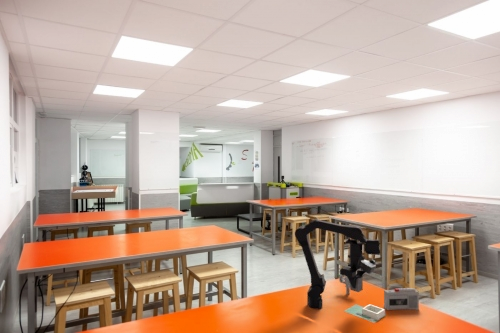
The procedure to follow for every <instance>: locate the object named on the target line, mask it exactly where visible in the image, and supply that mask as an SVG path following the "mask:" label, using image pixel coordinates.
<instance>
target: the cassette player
mask: <svg viewBox="0 0 500 333" xmlns="http://www.w3.org/2000/svg"><path fill="white" fill-rule="evenodd" d="M419 297H420V292H419V291H418V290H417V289H416V288H414V287H406V288H394V289H386V290H385V289H384V290H383V307H384V308H383V309H385V310H387V311H389V310H391V311H393V310H394V311H395V310H416V311H419V310H420V303H419V301H420V298H419Z"/></svg>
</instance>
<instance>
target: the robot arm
mask: <svg viewBox="0 0 500 333" xmlns="http://www.w3.org/2000/svg"><path fill="white" fill-rule="evenodd" d="M316 229H317V230H318V229H319V230H323V231H327V232H333V233H336V234H341V235H344V236H345V237H346V238H347V239H346V240H345V244H348V245H349V254H347V258H349V263H348V264H347V266H344V267H341V268H340V269H339V275H343V277H345V276H347V277H348V279H349V281H350V283H351V285H352V287H353V288H355V287H356V278H357V277H358V276H361V277H363V278H364V275H365V274H369V275H370V274H372V273H374V272H375V269H376V268H377V264H376V263H377V262H376V260H374V259H371V260H367V259H366V256H365V255H363V251H364V253H366V255H373V256H380V255H381V247H380V240H379V239H370V238H369V239H367V236H365V235H364V233H363V229H362V227H361V226H360V225H355V224H340V223H335V222H331V221H325V220H322V219H321V220H320V219H318V218H314V219H313V220H312V221H310V222H309V223H307V224H305V225H300V226H299V227H297V229H296V230H295V231H294V236H295V238H296V241H297V243H299V245H300V246H301V249H302V252H303V255H304V259H305V262H306V264H307V269H308V270H309V274H310V284H311V285H310V286H309V288H308V290H307V294H306V295H307V297H306V299H307V301H306V302H307V306H308V307H309V308H311V309H313V310H314V309H316V310H321V309H323V297H322V294H323V293H324V291H325V288H326V285H327V284H326V283H327V281H326V279H325V275H324V273H323V274H321V273H320V271H319V268H318V266H317V263H316V260H315V255H314V252H313V249H312V247H311V244H310V242H311V241H310V234H311V233H312V232H314V231H315V230H316Z"/></svg>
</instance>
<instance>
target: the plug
mask: <svg viewBox="0 0 500 333" xmlns="http://www.w3.org/2000/svg"><path fill="white" fill-rule="evenodd" d="M363 279H364V276H363V277H361V276H358V277H357V278H356V287H355V288H353V287H352V285H351V283H350V288H349V291H353V292H357V293H360V292H361V291H363V286H364V284H363Z"/></svg>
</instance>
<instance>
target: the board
mask: <svg viewBox="0 0 500 333" xmlns="http://www.w3.org/2000/svg"><path fill="white" fill-rule="evenodd" d="M364 307H365V306H361V305H359V304H353V305H352V306H350V307H349V308H347V309H345V310H343V312H344V313H347V314H350V315H353V316H355V317H357V318H361V319H363V320H366V321H367V322H368V321H369V322H371V323H375V324H376V322H378V321H379V320H381V319H382V318H385V316H386V317H387V315H386V314H385V315H384V316H383V317H381V318H380V319H378V320H377V319H375V318H371V317H368V316H366V315H363V314H362V308H364Z"/></svg>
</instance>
